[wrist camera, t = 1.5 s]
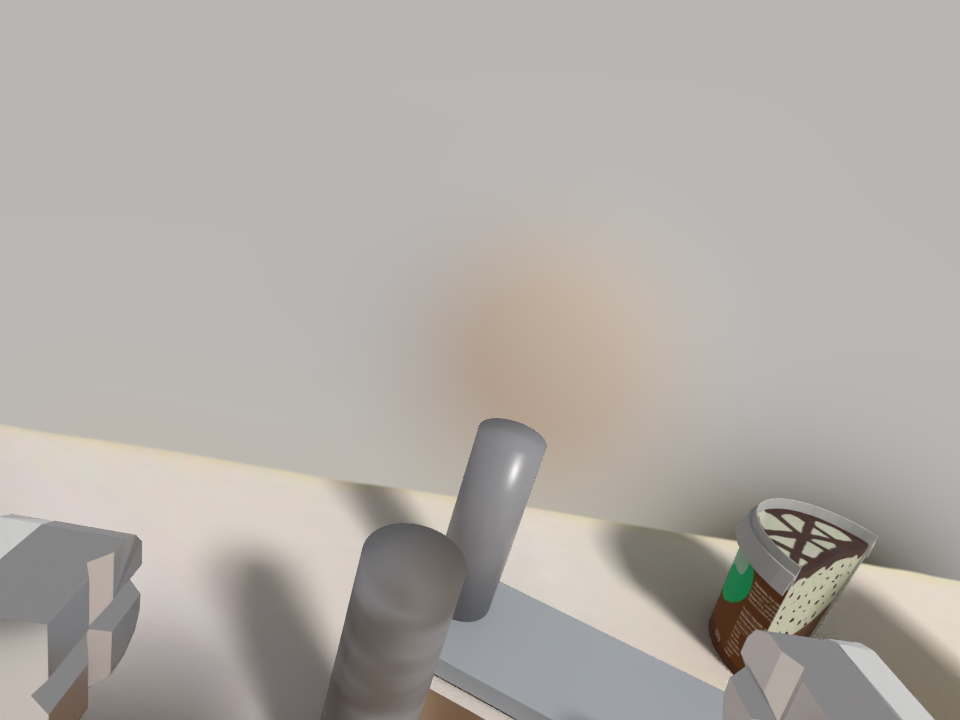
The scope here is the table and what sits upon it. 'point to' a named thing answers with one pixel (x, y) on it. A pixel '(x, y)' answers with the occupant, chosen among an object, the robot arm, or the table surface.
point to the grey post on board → (397, 628)
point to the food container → (785, 573)
